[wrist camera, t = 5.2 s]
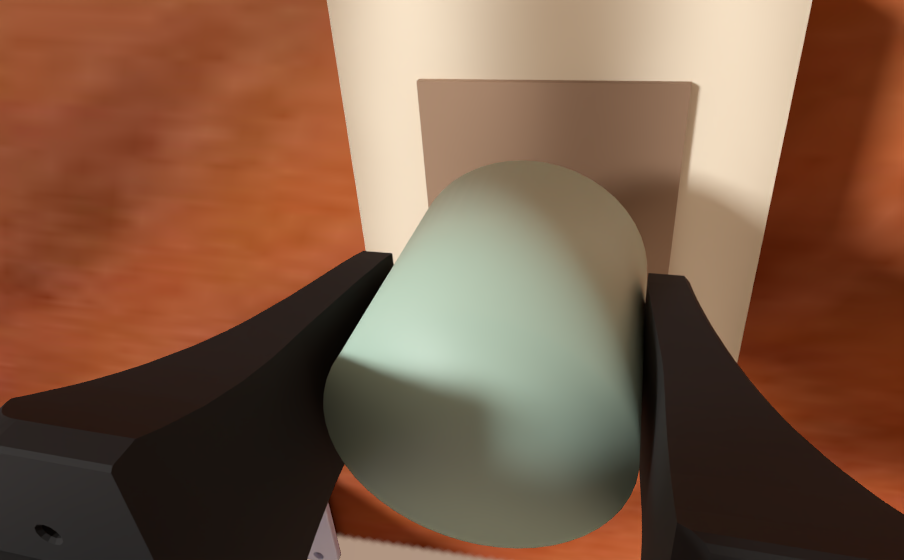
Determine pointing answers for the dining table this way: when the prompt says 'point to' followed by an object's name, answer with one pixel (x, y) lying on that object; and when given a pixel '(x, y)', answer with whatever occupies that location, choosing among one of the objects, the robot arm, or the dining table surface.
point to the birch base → (581, 116)
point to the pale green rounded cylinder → (501, 362)
